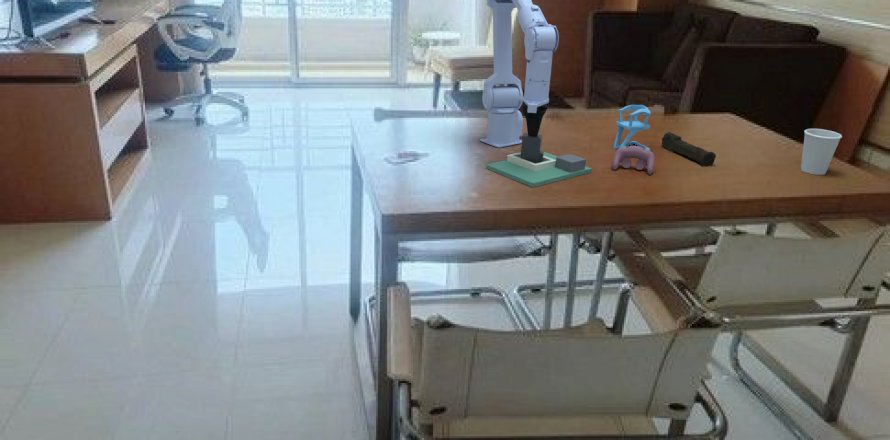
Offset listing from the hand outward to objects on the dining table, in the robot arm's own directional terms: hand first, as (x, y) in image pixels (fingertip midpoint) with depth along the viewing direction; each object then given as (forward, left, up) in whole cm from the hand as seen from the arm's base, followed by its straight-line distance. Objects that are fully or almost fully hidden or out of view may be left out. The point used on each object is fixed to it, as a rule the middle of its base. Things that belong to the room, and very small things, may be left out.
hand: (532, 136), depth 161 cm
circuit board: (0, +3, -8) cm, 8 cm away
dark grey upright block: (0, 0, -7) cm, 7 cm away
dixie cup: (-60, +41, -8) cm, 73 cm away
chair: (-35, +3, -8) cm, 36 cm away
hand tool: (-42, +15, -8) cm, 46 cm away
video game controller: (-21, +15, -8) cm, 27 cm away
